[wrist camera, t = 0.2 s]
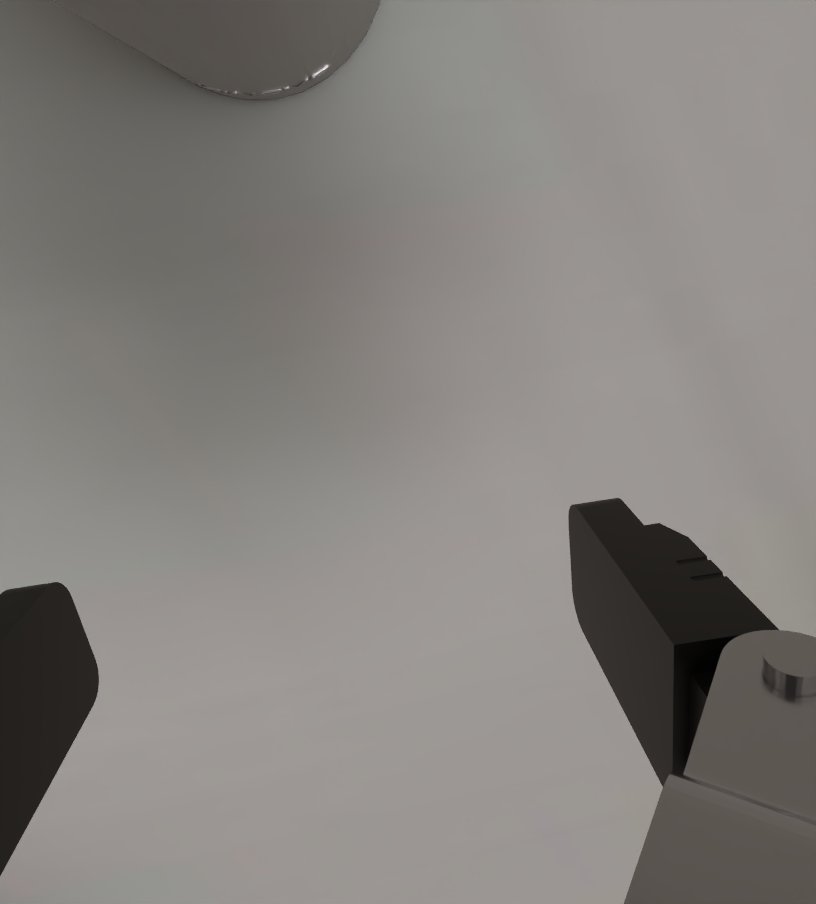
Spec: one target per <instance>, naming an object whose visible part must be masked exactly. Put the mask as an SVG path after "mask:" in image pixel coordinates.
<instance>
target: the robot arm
mask: <svg viewBox="0 0 816 904" xmlns="http://www.w3.org/2000/svg"><path fill="white" fill-rule="evenodd" d="M52 1H54V2H56V3H57V4H59V5H61V6H62V7H64V8H66V9H68V10H69V11H71V12H73V13H74V14H76V15H78V16H80V17H81V18H83V19H85V20H86V21H88V22H90V23H92V24H93V25H95V26H97V27H98V28H100V29H102V30H104V31H105V32H107V33H109V34H110V35H112V36H114V37H116V38H117V39H119V40H121V41H122V42H124V43H126V44H128V45H129V46H131V47H133V48H134V49H136V50H138V51H140V52H141V53H143V54H145V55H146V56H148V57H150V58H152V59H153V60H155V61H157V62H158V63H160V64H162V65H163V66H165V67H167V68H169V69H170V70H172V71H174V72H176V73H177V74H179V75H181V76H183V77H184V78H186V79H188V80H189V81H191V82H194V83H196V84H197V85H199V86H200V87H203V88H207V89H209V90H211V91H214V92H216V93H218V94H222V95H227V96H231V97H236V98H241V99H246V100H262V99H278V98H282V97H285V96H289V95H293V94H296V93H300V92H303V91H305V90H307V89H309V88H310V87H312V86H314V85H316V84H318V83H319V82H321V81H323V80H325V79H327V78H328V77H329V76H330V75H331V74H332V73H333V72H335V71H336V70H337V69H338V68H339V67H340V66H341V65H342V64H343V63H344V62H346V61H347V60H348V59H349V58H350V56H351V55H352V53H353V52H354V51H355V49H356V48H357V46H358V45H359V43H360V42H361V41H362V39H363V38H364V36H365V35H366V33H367V31H368V29H369V27H370V24H371V22H372V20H373V18H374V15H375V13H376V11H377V8H378V6H379V4H380V0H52ZM569 538H570V556H571V575H572V592H573V599H574V605H575V610H576V614H577V617H578V620H579V623H580V626H581V629H582V631H583V633H584V635H585V637H586V639H587V641H588V642H589V644H590V646H591V648H592V650H593V652H594V654H595V656H596V658H597V660H598V662H599V664H600V666H601V668H602V670H603V672H604V674H605V675H606V677H607V679H608V681H609V683H610V685H611V687H612V689H613V691H614V693H615V695H616V697H617V699H618V701H619V703H620V705H621V707H622V708H623V710H624V712H625V714H626V716H627V718H628V720H629V722H630V724H631V726H632V728H633V730H634V732H635V734H636V736H637V738H638V740H639V741H640V743H641V745H642V747H643V749H644V751H645V753H646V755H647V757H648V759H649V761H650V763H651V765H652V767H653V769H654V771H655V773H656V774H657V776H658V778H659V780H660V782H661V784H662V786H663V789H662V792H661V795H660V798H659V801H658V804H657V807H656V810H655V813H654V816H653V819H652V822H651V825H650V828H649V830H648V833H647V836H646V839H645V842H644V845H643V848H642V851H641V854H640V857H639V860H638V863H637V866H636V869H635V872H634V875H633V878H632V881H631V884H630V887H629V890H628V893H627V896H626V899H625V902H624V904H816V637H813V636H809V635H806V634H802V633H797V632H791V631H782V630H779V629H778V628H777V627H776V626H775V625H774V624H773V623H772V622H771V621H770V620H769V619H768V618H767V617H766V616H765V615H764V614H763V613H762V612H761V611H760V610H759V609H758V608H757V607H756V606H755V605H754V604H753V603H752V602H751V601H750V600H749V599H748V598H747V597H746V596H745V595H744V594H743V593H742V592H741V591H740V590H739V588H738V587H737V586H736V585H735V584H734V583H733V582H732V581H731V580H730V579H729V578H728V577H727V576H725V577H724V576H723V573H722V571H721V570H720V569H719V568H718V567H717V566H716V565H715V564H714V563H713V562H712V561H711V560H707V556H706V555H705V554H704V553H703V552H702V551H701V550H700V549H699V548H698V547H697V546H696V545H695V544H694V543H693V542H692V541H691V540H690V539H689V538H688V537H687V536H685V535H682V534H680V533H678V532H676V531H674V530H672V529H670V528H668V527H666V526H664V525H662V524H660V523H657V524H651V525H643V524H642V522H641V521H640V520H639V519H638V518H637V517H636V516H635V515H634V513H633V512H632V511H631V510H630V509H629V508H628V507H627V505H626V504H625V503H624V502H623V501H622V500H621V499H619V498H614V499H608V500H601V501H595V502H588V503H581V504H575V505H571V507H570V509H569ZM98 684H99V675H98V667H97V663H96V660H95V657H94V655H93V652H92V649H91V647H90V644H89V641H88V639H87V636H86V634H85V631H84V628H83V626H82V623H81V620H80V618H79V615H78V612H77V610H76V607H75V604H74V602H73V599H72V597H71V594H70V592H69V591H68V589H67V588H66V587H65V586H64V585H63V584H61V583H58V582H54V583H48V584H41V585H34V586H28V587H21V588H15V589H9V590H6V591H4V592H3V593H1V594H0V875H1V874H2V872H3V870H4V868H5V866H6V864H7V862H8V861H9V859H10V857H11V855H12V853H13V851H14V850H15V848H16V846H17V844H18V842H19V840H20V839H21V837H22V835H23V833H24V831H25V829H26V828H27V826H28V824H29V822H30V820H31V818H32V817H33V815H34V813H35V811H36V809H37V807H38V806H39V804H40V802H41V800H42V798H43V796H44V795H45V793H46V791H47V789H48V787H49V785H50V784H51V782H52V780H53V778H54V776H55V774H56V773H57V771H58V769H59V767H60V765H61V763H62V762H63V760H64V758H65V756H66V754H67V752H68V751H69V749H70V747H71V745H72V743H73V741H74V740H75V738H76V736H77V734H78V732H79V730H80V729H81V727H82V725H83V723H84V721H85V719H86V718H87V716H88V714H89V712H90V710H91V708H92V707H93V705H94V702H95V700H96V697H97V692H98Z"/></svg>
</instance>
